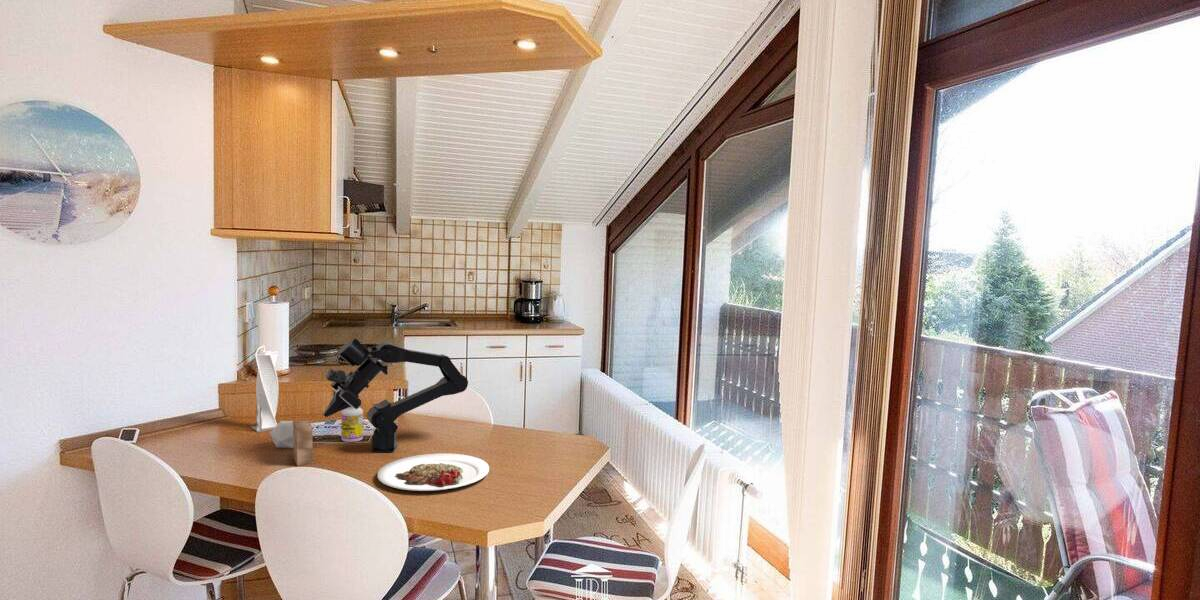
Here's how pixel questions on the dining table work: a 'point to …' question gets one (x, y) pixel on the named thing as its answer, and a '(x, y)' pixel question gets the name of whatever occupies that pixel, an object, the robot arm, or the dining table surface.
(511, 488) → the dining table surface
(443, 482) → the plated food
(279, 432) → the die
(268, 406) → the skyscraper
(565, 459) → the dining table surface
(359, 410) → the supplement bottle
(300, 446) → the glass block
